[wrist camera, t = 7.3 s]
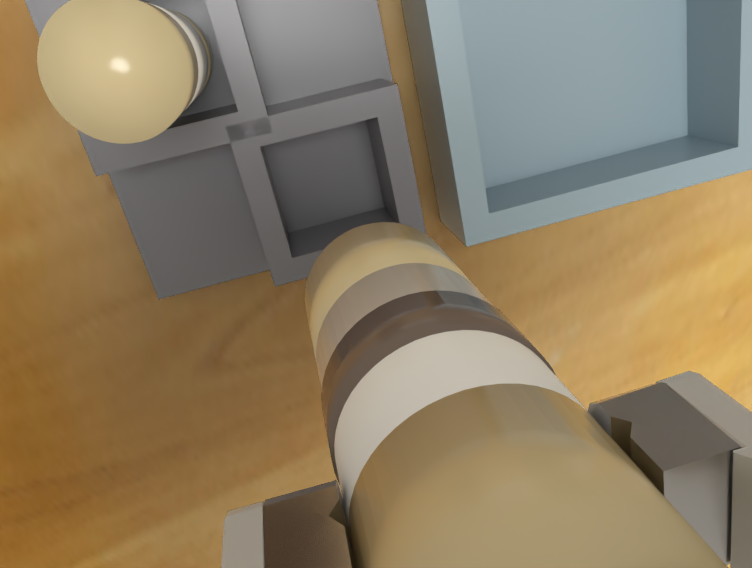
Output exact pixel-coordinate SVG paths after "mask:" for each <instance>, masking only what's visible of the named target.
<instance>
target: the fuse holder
mask: <svg viewBox="0 0 752 568" xmlns="http://www.w3.org/2000/svg"><path fill="white" fill-rule="evenodd" d="M69 1H71V0H25V3H26V5H27V8H28V10H29V13H30V15H31V17H32V20H33V22H34V25H35V27H36V30H37V32H38V35H39V37H40V36H41V34H42V31H43V29H44V27H45V25H46V23H47V21H48V20H49V19H50V17H51V16H52V15H53V14H54V13H55V12H56V11H57V10H58V9H59V8H60V7H61V6H63V5H64V4H66V3H67V2H69ZM140 1H143V2H147V3H150V4H153V5H157V6H160V7H163V8H167V9H170V10H173V11H176V12H179V13H181V14H183V15H185V16H187V17H189V18H190V19H191V20H193V21H194V22H195V23H196V24H197V25H198V26H199V27H200V28H201V29H202V31H203V32H204V34H205V35H206V37H207V39H208V41H209V43H210V46H211V49H212V53H213V71H212V75H211V78H210V80H209V83H208V84H207V86H206V88H205V89H204V90H203V91H202V92H201V93H200V95H199V96H198V97H197V98H196V99H195V100H194V101H193V102H192V103H191V104H190V105H189V106H188V107H187V108H186V110H185V111H184V112H183V113H182V114H181V115H180V116H179V117H178V118H177V119H176V120H175V121H174V122H173V123H172V124H171V125H170V126H169V127H168V128H167V129H166V130H165V131H163V132H162V133H160V134H159V135H157V136H155V137H153V138H151V139H148V140H145V141H142V142H137V143H130V144H118V143H110V142H105V141H102V140H98V139H95V138H93V137H91V136H89V135H86V134H84V133H83V132H81V131H79V130H78V129H77V131H78V133H79V135H80V138H81V140H82V143H83V145H84V148H85V150H86V153H87V155H88V158H89V160H90V163H91V165H92V167H93V170H94V172H95V175H96V176H99V175H103V174H107V173H109V176H110V178H111V181H112V183H113V186H114V188H115V191H116V193H117V196H118V198H119V201H120V203H121V206H122V208H123V211H124V213H125V216H126V219H127V221H128V224H129V226H130V229H131V231H132V234H133V236H134V239H135V241H136V244H137V246H138V249H139V251H140V254H141V256H142V259H143V261H144V264H145V266H146V269H147V271H148V274H149V276H150V279H151V281H152V284H153V286H154V289H155V291H156V294H157V296H158V299H163V298H166V297H170V296H174V295H178V294H181V293H185V292H189V291H193V290H196V289H200V288H204V287H208V286H211V285H215V284H219V283H222V282H226V281H230V280H234V279H237V278H241V277H245V276H249V275H252V274H256V273H260V272H264V271H267V270H270V272H271V275H272V279H273V282H274V285H275V286H279V285H283V284H286V283H290V282H294V281H297V280H301V279H305V278H308V276H309V273H310V270H311V268H312V266H313V264H314V262H315V261H316V259H317V258H318V256H319V255H320V254H321V252H322V251H323V250H324V249H325V248H326V247H327V246H328V245H329V244H330V243H331V242H332V241H333V240H335V239H336V238H337V237H339V236H340V235H342V234H344V233H345V232H347V231H349V230H351V229H353V228H356V227H359V226H362V225H366V224H371V223H378V222H392V223H399V224H404V225H407V226H410V227H413V228H415V229H417V230H419V231H421V232H423V233H424V234H426V230H425V224H424V219H423V214H422V209H421V204H420V198H419V193H418V188H417V183H416V178H415V172H414V167H413V162H412V157H411V152H410V146H409V141H408V136H407V131H406V126H405V120H404V115H403V110H402V105H401V100H400V94H399V89H398V84H396V83H393V80H392V75H391V70H390V65H389V59H388V54H387V49H386V44H385V39H384V34H383V29H382V24H381V18H380V13H379V8H378V3H377V0H140Z"/></svg>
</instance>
